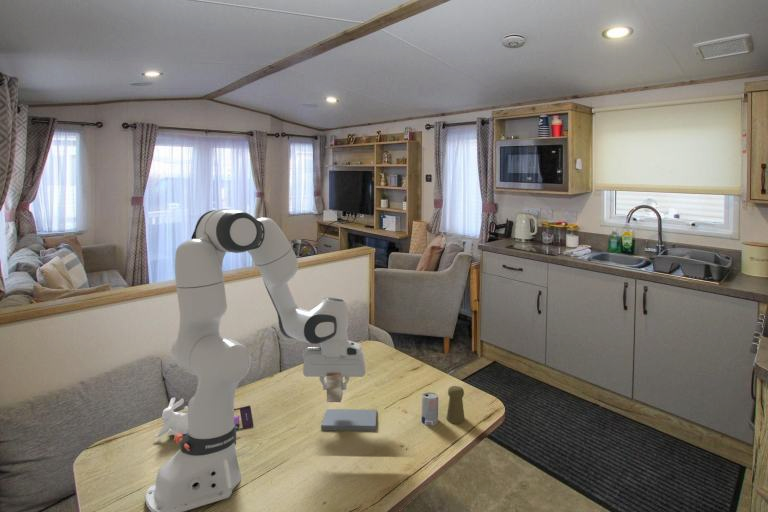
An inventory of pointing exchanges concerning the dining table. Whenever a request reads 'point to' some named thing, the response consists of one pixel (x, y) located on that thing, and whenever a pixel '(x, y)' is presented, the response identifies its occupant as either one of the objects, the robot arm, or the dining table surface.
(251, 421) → the purple box
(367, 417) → the slate board
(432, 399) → the energy drink
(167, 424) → the rabbit figurine
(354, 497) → the dining table surface
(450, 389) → the brown pawn shape
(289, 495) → the dining table surface
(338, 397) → the block
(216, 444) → the robot arm
